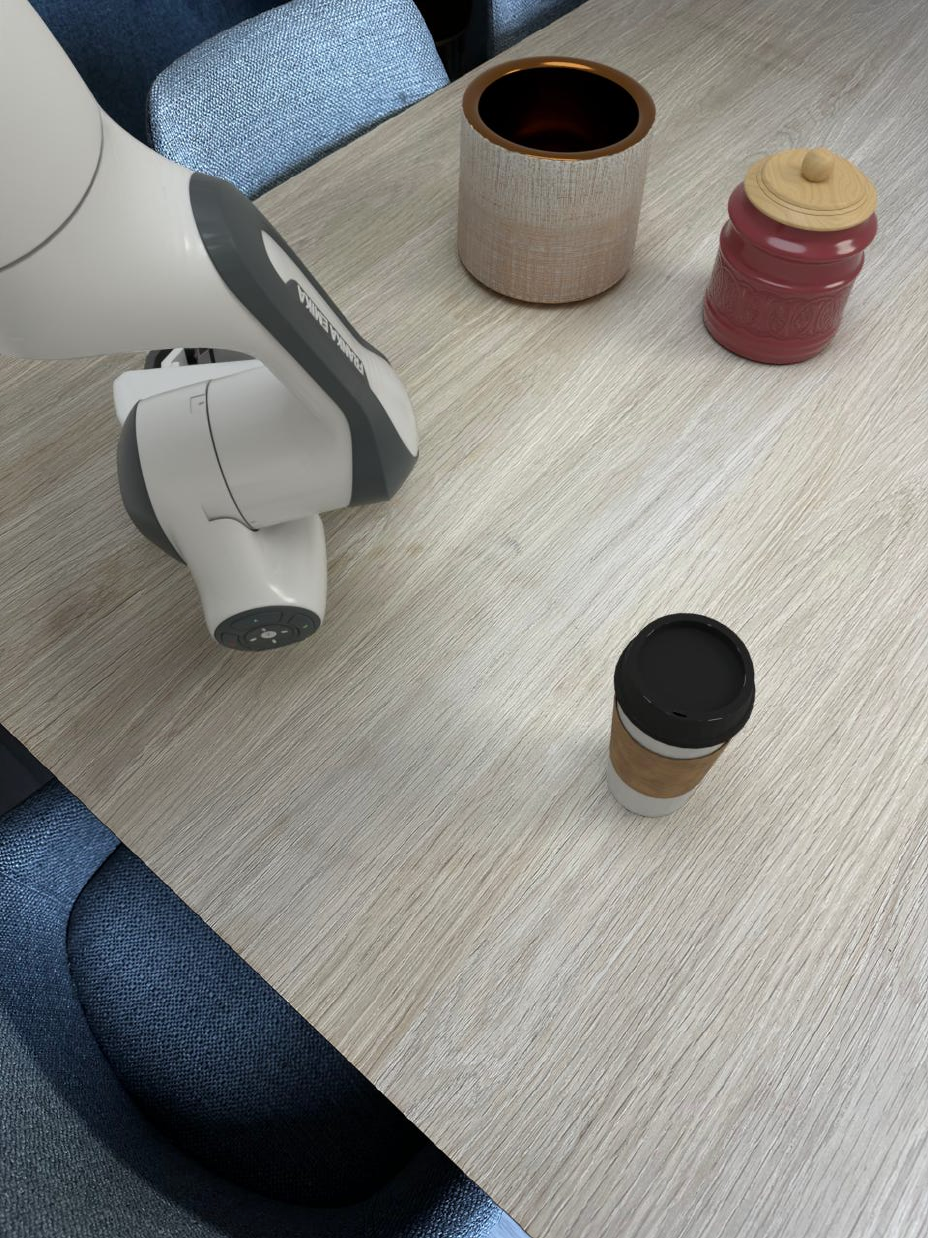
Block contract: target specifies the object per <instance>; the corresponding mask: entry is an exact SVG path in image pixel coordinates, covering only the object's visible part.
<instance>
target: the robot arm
mask: <svg viewBox="0 0 928 1238" xmlns="http://www.w3.org/2000/svg"><path fill="white" fill-rule="evenodd" d="M174 348H176V349H174ZM197 348H220V349H228V350H234V351H238V352H243V353H245V354H248V355H251V356H253V357H255V358H256V359H253V360H243V361H232V362H221V363H210V364H199V365H194V364H198V357H197V355H198V351H197ZM161 349H173V351H172V352H171V353H170V354H169V355H168V356H167V357H166V358H165V359H164V360H163V361H162V363H161V368H156V369H145V370H143V369H135V370H134V369H133V370H126V371H124V372H122V373H120V375H118V376H117V377H116V378H115V379H114V381H113V382H112V397H113V405H114V410H115V413H116V417H117V421H118V424H119V428H120V434H119V438H118V442H117V447H116V472H117V482H118V487H119V493H120V496H121V500H122V504H123V506H124V508H125V511H126V513H127V515H128V517H129V519H130V520H131V522H132V523H133V525H134V526H135V528H136V529H137V530H138V532H139V533H140V534H141V535H142V536H143V537H144V538H145V539H147V541H149V542H150V543H151V544H153V545H155V546H156V547H157V548H158V549H160V550H161V551H162V552H164V553H165V554H167V555H168V556H169V557H170V558H172V559H173V560H175V561H177V562H178V563H180V564H182V565H183V566H185V567H188V569H189V571H190V573H191V576H192V578H193V581H194V584H195V586H196V589H197V591H198V595H199V599H200V603H201V608H202V613H203V616H204V621H205V625H206V628H207V631H208V633H209V634H210V636H211V637H212V639H213V640H214V642H216V643H217V644H218V645H220V646H223V647H225V648H228V649H231V650H234V651H239V652H252V653H253V652H255V653H260V652H266V651H267V652H268V651H271V650H272V651H273V650H277V649H280V648H285V647H288V646H292V645H295V644H299V643H301V642H303V641H305V640H306V639H308V638H310V637H312V636H313V635H314V634H315V633H317V632H318V630H319V629H320V628H321V626H322V625H323V623H324V619H325V615H326V608H327V599H328V559H327V558H328V557H327V556H328V555H327V545H326V537H325V527H324V524H323V521H322V518H321V516H320V514H323V513H327V512H330V511H334V510H339V509H343V508H346V509H350V508H357V507H363V506H367V505H372V504H379V503H385V502H390V501H391V500H392V499H393V498H394V497H395V495H396V494H397V493H398V492H399V491H400V489H401V488H402V486H403V485H404V484H405V482H406V481H407V479H408V478H409V477H410V475H411V473H412V471H413V469H414V468H415V466H416V464H417V462H418V460H419V458H420V448H419V447H420V446H419V445H420V444H419V443H420V441H419V440H420V439H419V427H418V419H417V416H416V415H417V414H416V411H415V407H414V405H413V402H412V399H411V396H410V394H409V391H408V389H407V387H406V385H405V383H404V382H403V379H402V378H401V377H400V375H399V373H398V372H397V371H396V370H395V368H394V367H393V365H392V364H391V362H390V361H389V359H388V357H386V355H385V354H384V353H383V352H381V351H380V350H379V349H378V348H376V347H375V346H374V345H373V344H371V343H369V342H368V341H367V340H366V339H365V338H363V336H361V334H360V333H359V331H357V330H356V328H355V327H354V326H353V325H352V324H351V322H350V321H349V320H348V318H347V317H346V316H345V314H344V313H343V312H342V310H340V308H339V307H338V305H337V304H336V303H335V301H334V300H333V299H332V298H331V297H330V295H329V294H328V293H327V292H326V290H325V289H324V288H323V286H322V284H320V282H319V281H318V280H317V279H316V277H315V276H314V275H313V273H312V272H311V271H310V270H309V268H308V267H307V266H306V264H305V263H304V262H303V261H302V260H301V259H300V257H299V256H298V255H297V254H296V252H295V251H294V250H293V248H292V247H291V246H290V244H288V242H287V241H286V240H285V239H284V237H283V236H282V235H281V233H280V232H279V231H278V230H277V229H276V228H275V227H274V225H273V224H272V223H271V222H270V220H269V219H268V218H267V217H266V216H265V215H264V213H262V212H261V211H260V210H259V209H258V207H257V206H256V205H255V203H253V202H252V201H251V199H249V198H248V197H247V196H246V195H245V194H244V193H243V192H242V191H241V189H239V188H238V187H237V186H235V184H233V183H232V182H230V181H229V180H227V179H224V178H220V177H217V176H214V175H210V174H207V173H204V172H201V171H194V170H192V169H189V168H187V167H185V166H183V165H181V164H179V163H177V162H174V161H173V160H171V159H169V158H167V157H166V156H164V155H162V154H160V153H159V152H157V151H155V150H153V149H152V148H151V147H148V146H147V145H146V144H144V143H143V142H141V141H140V140H139V139H137V138H136V137H134V136H133V135H131V134H130V133H129V132H128V131H126V130H125V129H124V128H122V126H121V125H119V123H117V122H116V121H115V120H114V119H113V118H112V117H110V115H109V114H108V113H107V112H106V111H105V110H104V109H103V108H102V106H101V105H100V104H99V102H98V101H97V99H96V98H95V97H94V94H93V93H92V92H91V90H90V89H89V87H88V85H87V84H86V81H84V79H83V78H82V76H81V74H80V73H79V72H78V70H77V68H76V66H75V65H74V63H73V62H72V61H71V59H70V57H69V56H68V54H67V53H66V51H65V50H64V48H63V47H62V46H61V44H60V43H59V41H58V39H57V38H56V37H55V36H54V34H53V33H52V31H51V30H50V28H49V27H48V26H47V24H46V22H44V20H43V19H42V17H41V16H40V15H39V13H38V12H37V10H36V9H35V8H34V7H33V6H32V5H31V3H30V2H29V0H0V354H1V355H5V356H8V357H12V358H17V359H23V360H31V361H47V362H48V361H52V362H53V361H55V362H56V361H71V360H78V359H79V360H80V359H89V358H97V357H105V356H113V355H114V356H115V355H122V354H131V353H138V352H140V353H141V352H147V351H148V352H150V351H151V350H161ZM188 365H189V366H188Z"/></svg>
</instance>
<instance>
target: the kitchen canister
mask: <svg viewBox="0 0 928 1238" xmlns="http://www.w3.org/2000/svg"><path fill="white" fill-rule="evenodd" d="M877 205H878V192H877V189H876V187H875V185H874V184H873V182H872V181H871V179H870V178H869V177H868V176H867V175H866V174H865V173H863V171H861V170H860V169H859V168H858V167H857V166H856V165H855V164H854V163H853V162H852V161H850V160H848V159H847V158H845V157H843V156H841V155H838V154H836V153H834V152H832V151H831V150H830V149H829V148H826V147H823V146H820V147H819V146H818V147H813V148H809V147H807V148H805V147H803V148H801V147H800V148H793V149H792V148H790V149H787V150H783V151H780V152H776V153H772V154H769V155H766V156H764V157H761V158H759V159H757V161H754V163H752V164H751V165H749V167H748V169H747V171H746V172H745V175H744V178H743V181H741V182H740V183H739V184H737V186H735V188H734V189H733V190H732V192H730V195H729V197H728V200H727V214H728V219H727V220H726V221H725V222H724V224H723V226H721V227H722V228H721V230H720V232H719V238H718V239H719V240H718V242H719V244H718V247H717V251H716V255H715V259H714V262H713V267H712V271H711V274H710V278H709V280H708V281H707V284H706V286H705V291H704V294H703V300H702V305H703V309H702V310H703V311H702V316H703V321H704V324H705V327H706V328H707V331H708V332H709V333H710V335H711V336H712V337H713V339H714V340H716V341H717V342H718V344H720V345H721V346H723V347H724V348H726V349H727V350H729V351H730V352H732V353H734V354H736V355H738V356H740V357H743V358H746V359H749V360H752V361H756V362H759V363H764V364H765V363H766V364H775V365H783V364H784V365H785V364H787V365H788V364H794V363H801V362H805V361H807V360H810V359H812V358H814V357H815V356H817V355H820V354H821V353H822V352H823V351H824V350H825V349H826V348H827V347H828V346H829V344H830V343H831V341H832V340H833V339H834V337H835V336H836V335H837V333H838V331H839V329H840V325H841V324H842V321H843V317H844V311H845V309H846V305H847V303H848V300H849V299H850V296H851V294H852V290H853V288H854V285H855V283H856V280H857V278H858V276H859V275H860V273H861V272H862V270H863V268H864V265H865V260H866V258H865V257H866V256H865V255H866V254H865V253H866V252H865V250H866V249H867V248H868V247H869V246H870V245H871V244H872V243H873V241H874V240H875V238H876V237H877V234H878V231H879V230H878V229H879V221H878V217H877V214H876V209H877Z"/></svg>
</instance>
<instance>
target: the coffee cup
mask: <svg viewBox="0 0 928 1238" xmlns="http://www.w3.org/2000/svg"><path fill="white" fill-rule="evenodd" d="M755 677H756V674H755V667H754V661H753V659H752V656H751V653H750V651H749V649H748V648H747V646H746V644H745V642H744V641H743V640H742V639H741V637H739V635H738V634H737V633H736V632H735V631H734V630H732V629H731V628H730V627H729V626H727V625H726V624H724V623H722V622H720V621H719V620H717V619H715V618H712V617H710V616H708V615H707V616H706V615H704V614H698V613H695V612H694V613H693V612H676V613H670V614H666V615H664V616H661V617H657V618H655V619H654V620H651V622H648V624H646V625H645V626H644V627H643V628H642V629H641V630H640V631H639V632H638V633H637V634H636V636H634V637H633V638H632V639H631V640H630V641H629V642H628V643H627V645H625V647H624V649H623V650H622V652H621V654H620V655H619V657H618V659H617V662H616V664H615V667H614V672H613V690H614V693H613V694H614V695H613V703H612V713H611V724H610V735H609V746H608V749H609V752H608V758H607V764H606V781H607V785H608V788H609V790H610V793H611V794H612V796H613V797H614V799H615V800H616V802H618V803H619V804H620V805H621V806H622V807H624V808H625V809H627V810H628V811H630V812H632V813H634V814H636V815H639V816H643V817H647V818H648V817H649V818H659V817H666V816H668V815H671V814H673V813H675V812H676V811H678V810H679V809H680V808H681V807H682V806H683V805H685V804H686V802H687V800H688V799H689V797H690V796H691V795H692V794H693V792H694V790H695V789H696V787H697V786H698V785H699V784H700V783H701V781H702V780H703V778H704V777H705V776H706V774H707V773H708V772H709V771H710V769H711V768H712V767H713V765H714V764H715V762H716V761H717V760H718V758H719V757H721V754H723V752H724V751H725V750H726V748H727V746H728V745H729V744H730V742H731V741H732V740H733V738H734V737H736V736H737V735H738V734H739V733H740V732H741V731H742V730H743V729H744V728H745V726H746V724H747V723H748V722H749V720H750V719H751V716H752V713H753V710H754V707H755V703H756V689H757V688H756V682H755Z"/></svg>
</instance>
